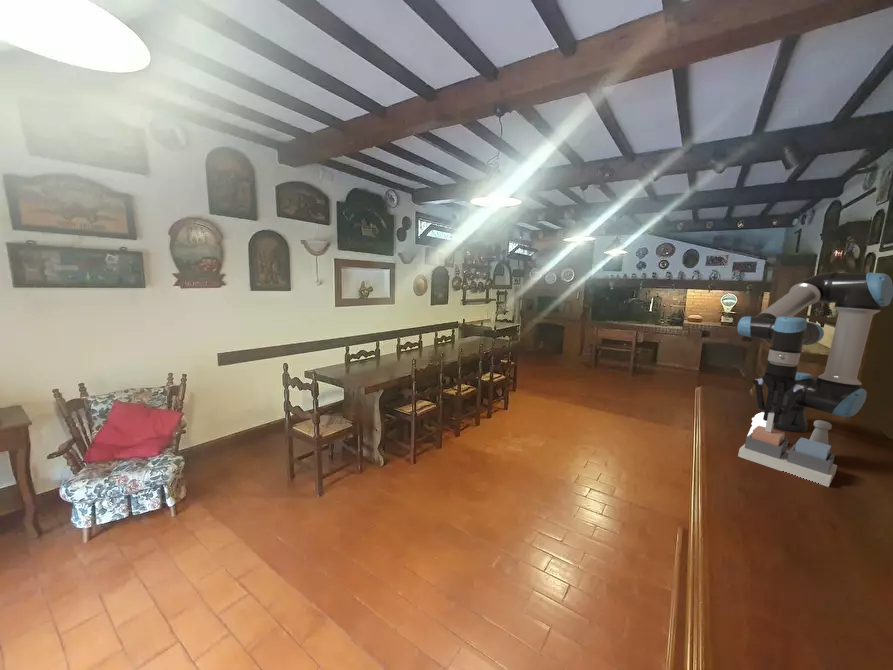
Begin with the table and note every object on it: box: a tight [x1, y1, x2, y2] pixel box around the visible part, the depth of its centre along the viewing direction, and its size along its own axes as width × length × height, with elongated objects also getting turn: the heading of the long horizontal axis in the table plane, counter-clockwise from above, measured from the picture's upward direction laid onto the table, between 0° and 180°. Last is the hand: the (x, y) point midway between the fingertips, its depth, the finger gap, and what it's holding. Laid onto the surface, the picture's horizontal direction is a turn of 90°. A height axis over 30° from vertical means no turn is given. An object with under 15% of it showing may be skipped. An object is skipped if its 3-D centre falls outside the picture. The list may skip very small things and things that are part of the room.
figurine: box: [746, 411, 767, 437], centre depth 136 cm, size 7×7×12 cm
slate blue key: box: [795, 436, 832, 461], centre depth 116 cm, size 7×7×5 cm
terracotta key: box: [751, 426, 786, 446], centre depth 124 cm, size 7×7×5 cm
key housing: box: [737, 433, 838, 488], centre depth 121 cm, size 13×22×7 cm, turn 37°
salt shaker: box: [809, 419, 833, 445], centre depth 127 cm, size 6×6×13 cm
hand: (768, 430), depth 124 cm, fingers closed
